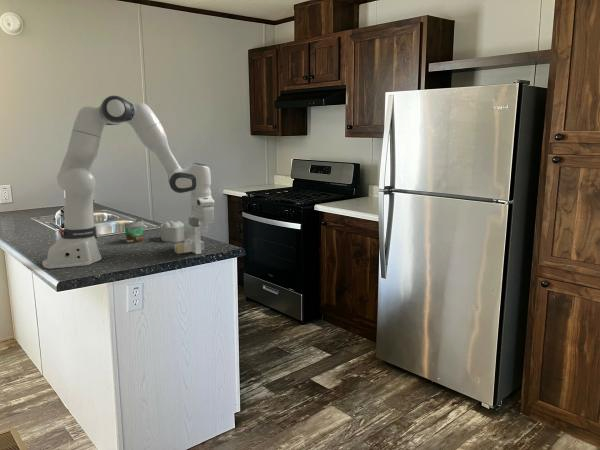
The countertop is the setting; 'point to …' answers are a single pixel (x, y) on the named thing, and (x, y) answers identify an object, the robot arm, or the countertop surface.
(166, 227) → the lumpy-topped squat cylinder
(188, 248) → the cream rectangular bar
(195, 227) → the motor housing
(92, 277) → the countertop surface
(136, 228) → the food container
